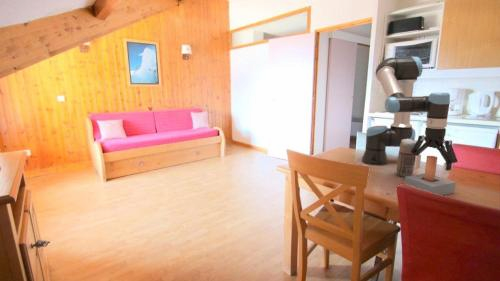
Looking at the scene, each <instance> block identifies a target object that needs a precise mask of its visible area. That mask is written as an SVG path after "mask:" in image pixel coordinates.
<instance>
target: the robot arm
mask: <svg viewBox="0 0 500 281" xmlns="http://www.w3.org/2000/svg"><path fill="white" fill-rule="evenodd" d="M423 68H424V66H423V62H422V59H421V58H420V57H419V56H399V57H388V58H386V59H384V60H382V61H381V62H379V64H378V65H377V66H376V69H375V77H376V80H377V81H379V82H380V83H381V88H383V91H384V95H385V96H386V99H385V101H384V102H385V103H384V109H385V111H386V112H387V113H394V114H393V122H392V123H391V124H390V127H388V126H387V125H375V126H374V125H373V126H370V127H368V128H367V129H366V134H365V138H366V139H365V150H364V152H363V155H362V157H361V162H362V161H363V162H362V163H364V162H365V163H364V164H367V165H373V166H385V165H387V164H388V161H389V159H388V157H387V152H386V148H387V147H390V148H392V147H393V148H396V147H397V148H400V144H401V140H404V139H411V140H415V139H416V130H415V128H413V125H412V124H411V123H410V122H411V114H412V113H426V122H425V126H426V127H425V130H424V134H422V135H418V136H417V137H418V138H417V140H415V141H417V142H416V144H415V145H414V147H413V148H412V150H411V153H413V154H414V161H415V164H414V169H420V168H421V159H422V155H421V154H422V153H423V152H424V151H425V150H427V149H428V148H433V149H436V150H437V151H439V153H440V155H441V156H442V158H443V160H444V163H443V169H442V176H441V178H448V177H449V173H450V171H452V165H453V164H455V163H458V162H459V161H458V158H457V155H456V153H455V150H454V147H453V140H451V139H449V140H446V139H445V137H446V132H447V129H446V128H447V126H448V116H449V109H450V102H451V94H450V93H449V92H431V93H430V94H429V95H421V96H413V93H414V84H415V83H416V82H417V81H418V78H419V77H421V76H422V74H423Z"/></svg>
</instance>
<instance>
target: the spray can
mask: <svg viewBox="0 0 500 281" xmlns="http://www.w3.org/2000/svg"><path fill="white" fill-rule="evenodd" d="M417 141H418V140H411V139H404V140H401V144H400V147H399V150H398V155H397V163H396V173H395V174H396V175H397V176H398V177H399V176H400V177H403V178H405V177H407V176H412V175H413V174H414V169H415V168H414V166H415V161H414V154H413V153H411V150H412V148H413V147H414V145H415V144H416V142H417Z"/></svg>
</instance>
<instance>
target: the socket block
mask: <svg viewBox="0 0 500 281" xmlns="http://www.w3.org/2000/svg"><path fill="white" fill-rule="evenodd" d="M424 176H425V172H424V173H421V174H419V173H418V174H414V175H412V176H407V177H404V183H405V184H408V185H411V186H414V187H416V188H419V189H422V190H426V191H429V192H432V193H436V194H440V195H442V196H447V195H450V194H454V193H455V192H456V191H455V190H456V186H457V185H456V183H457V182H455V181H453V180H449V179H447V178H444V177H440V176H437V175H435V181H434V182H429V181H426V180H424Z"/></svg>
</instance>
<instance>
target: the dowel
mask: <svg viewBox="0 0 500 281" xmlns="http://www.w3.org/2000/svg"><path fill="white" fill-rule="evenodd" d="M437 165H438V156H435V155H427V156H426V162H425V169H424V170H425V171H424V173H425V176H424V180H426V181H429V182H434V181H435V176H436V171H437Z"/></svg>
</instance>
